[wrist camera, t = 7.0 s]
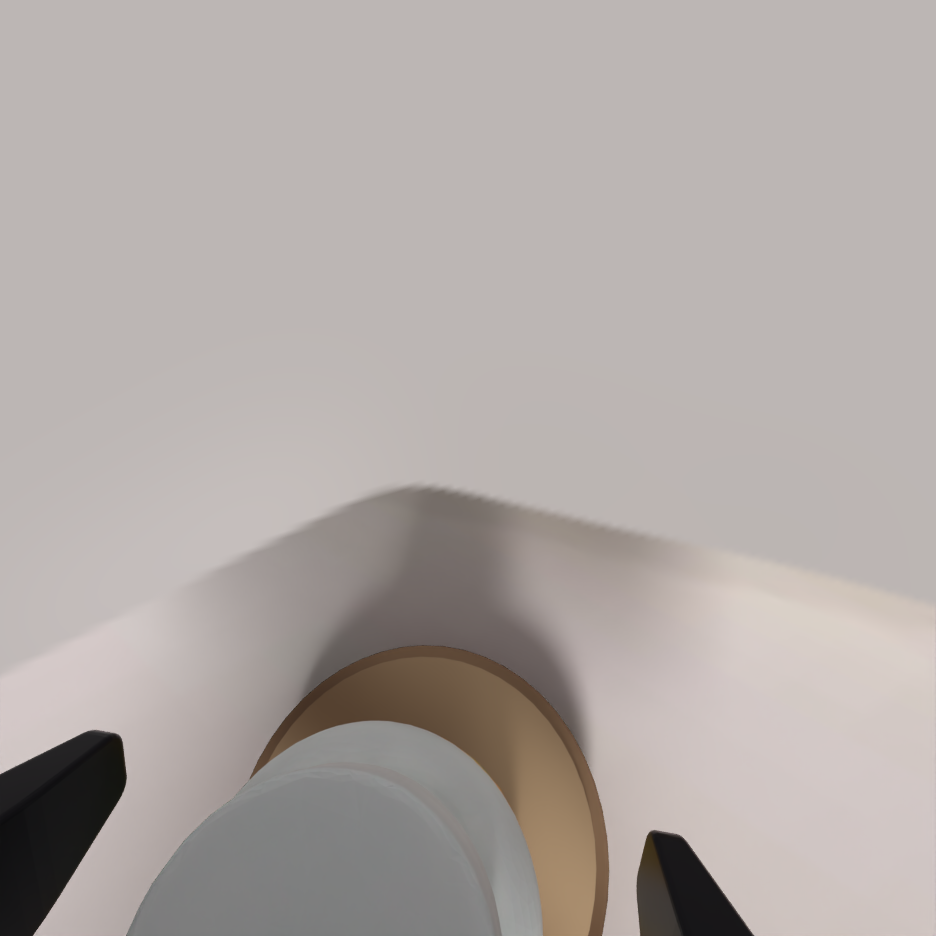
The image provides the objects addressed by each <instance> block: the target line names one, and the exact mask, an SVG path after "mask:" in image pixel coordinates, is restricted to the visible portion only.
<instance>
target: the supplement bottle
mask: <svg viewBox="0 0 936 936" xmlns="http://www.w3.org/2000/svg"><path fill="white" fill-rule="evenodd" d="M126 936H543V924H542V910H541V902H540V895H539V888H538V883H537V878H536V873H535V870H534V866H533V862H532V858H531V855H530V852H529V849H528V846H527V843H526V840H525V837H524V835H523V832H522V830H521V828H520V825H519V823H518V821H517V818H516V816H515V814H514V812H513V811H512V809H511V807H510V805H509V803H508V802H507V800H506V798H505V797H504V795H503V793H502V791H501V789H500V787H499V786H498V785H497V784H496V783H495V782H494V781H493V779H492V778H491V777H490V775H489V774H488V773H487V772H486V770H485V769H484V768H483V767H482V766H481V765H480V764H479V763H478V762H477V761H476V760H474V759H473V758H472V757H471V756H470V755H468V754H467V753H466V752H464V751H463V750H461V749H460V748H458V747H457V746H456V745H454V744H453V743H451V742H450V741H448V740H446V739H444V738H442V737H440V736H438V735H436V734H434V733H432V732H429V731H427V730H424V729H421V728H418V727H415V726H412V725H408V724H403V723H397V722H391V721H361V722H353V723H348V724H343V725H339V726H335V727H332V728H329V729H326V730H323V731H320V732H318V733H316V734H313V735H311V736H309V737H307V738H305V739H303V740H301V741H299V742H297V743H295V744H294V745H292V746H291V747H289V748H288V749H286V750H285V751H283V752H282V753H280V754H279V755H278V756H276V757H275V758H273V759H272V760H271V761H270V762H268V763H267V764H266V765H265V766H264V767H263V768H261V769H260V770H259V771H258V772H257V773H256V774H255V775H254V776H253V777H252V778H251V779H250V780H249V781H248V782H247V783H246V784H245V785H244V787H243V788H242V789H241V790H240V791H239V792H238V793H237V794H236V796H235V797H234V798H233V799H232V800H230V801H229V802H227V803H226V804H225V805H223V806H222V807H221V808H219V809H218V810H217V811H215V812H214V813H213V814H211V815H210V816H209V817H208V818H207V819H206V820H205V821H204V822H203V823H202V824H201V825H200V826H199V827H198V828H197V829H196V830H195V831H194V832H193V833H191V834H190V835H189V836H188V838H187V839H186V840H185V841H184V842H183V843H182V844H181V846H180V847H179V848H178V849H177V851H176V852H175V853H174V855H173V856H172V857H171V859H170V860H169V861H168V863H167V864H166V865H165V867H164V868H163V870H162V871H161V872H160V874H159V875H158V877H157V878H156V879H155V881H154V882H153V883H152V885H151V887H150V889H149V891H148V892H147V894H146V896H145V898H144V900H143V901H142V903H141V905H140V907H139V909H138V911H137V913H136V915H135V918H134V920H133V922H132V924H131V926H130V928H129V931H128V933H127V935H126Z"/></svg>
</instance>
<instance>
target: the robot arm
mask: <svg viewBox="0 0 936 936" xmlns="http://www.w3.org/2000/svg"><path fill="white" fill-rule="evenodd" d="M126 779H127V775H126V766H125V758H124V749H123V742H122V739H121V737H120V736H119V735H118V734H116V733H110V732H105V731H99V730H91V731H87V732H85V733H82V734H80V735H78V736H76V737H74V738H72V739H70V740H68V741H66V742H64V743H62V744H60V745H58V746H56V747H54V748H52V749H50V750H48V751H46V752H44V753H42V754H40V755H38V756H36V757H34V758H32V759H30V760H28V761H26V762H24V763H22V764H20V765H18V766H16V767H14V768H12V769H10V770H8V771H6V772H4V773H2V774H0V936H33V935H34V933H35V932H36V930H37V929H38V928H39V926H40V925H41V923H42V922H43V920H44V919H45V918H46V916H47V914H48V913H49V911H50V910H51V908H52V907H53V905H54V904H55V902H56V901H57V899H58V898H59V896H60V894H61V893H62V891H63V890H64V888H65V886H66V885H67V883H68V882H69V880H70V878H71V877H72V875H73V874H74V872H75V870H76V869H77V867H78V865H79V864H80V862H81V861H82V859H83V857H84V856H85V854H86V853H87V851H88V849H89V848H90V846H91V844H92V843H93V841H94V840H95V838H96V836H97V835H98V833H99V832H100V830H101V828H102V827H103V825H104V824H105V822H106V820H107V819H108V817H109V815H110V814H111V812H112V811H113V809H114V807H115V806H116V804H117V803H118V801H119V799H120V797H121V796H122V793H123V791H124V788H125V785H126ZM637 903H638V914H639V926H640V936H754V935H753V934H752V932H751V931H750V929H749V928H748V927H747V925H746V924H745V922H744V921H743V920H742V918H741V917H740V915H739V914H738V913H737V911H736V910H735V908H734V907H733V906H732V904H731V903H730V901H729V900H728V899H727V897H726V896H725V894H724V893H723V892H722V890H721V889H720V887H719V886H718V885H717V883H716V882H715V880H714V879H713V878H712V876H711V875H710V873H709V872H708V871H707V869H706V868H705V866H704V865H703V864H702V862H701V861H700V859H699V858H698V857H697V855H696V854H695V852H694V851H693V850H692V848H691V847H690V845H689V844H688V843H687V841H686V840H685V839H684V838H683V837H682V836H680V835H678V834H673V833H668V832H662V831H657V830H652V831H650V832H649V834H648V835H647V838H646V842H645V846H644V850H643V854H642V858H641V862H640V867H639V871H638V875H637Z"/></svg>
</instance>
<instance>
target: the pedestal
mask: <svg viewBox="0 0 936 936" xmlns="http://www.w3.org/2000/svg"><path fill="white" fill-rule="evenodd" d="M361 721H391V722H397V723H403V724H408V725H412V726H415V727H418V728H421V729H424V730H427V731H429V732H432V733H434V734H436V735H438V736H440V737H442V738H444V739H446V740H448V741H450V742H451V743H453V744H454V745H456V746H457V747H458V748H460V749H461V750H463V751H464V752H466V753H467V754H468V755H470V756H471V757H472V758H473V759H474V760H476V761H477V762H478V763H479V764H480V765H481V766H482V767H483V768H484V769H485V770H486V772H487V773H488V774H489V775H490V777H491V778H492V779H493V781H494V782H495V783H496V784H497V785H498V786H499V787H500V789H501V791H502V793H503V795H504V797H505V798H506V800H507V802H508V803H509V805H510V807H511V809H512V811H513V812H514V814H515V816H516V818H517V821H518V823H519V825H520V828H521V830H522V832H523V835H524V837H525V840H526V843H527V846H528V849H529V852H530V855H531V858H532V862H533V866H534V870H535V873H536V878H537V883H538V888H539V895H540V902H541V910H542V924H543V936H602V933H603V927H604V920H605V914H606V908H607V901H608V882H609V859H608V843H607V834H606V828H605V822H604V816H603V811H602V806H601V803H600V799H599V796H598V792H597V789H596V785H595V782H594V779H593V777H592V774H591V772H590V769H589V767H588V764H587V762H586V760H585V757H584V755H583V753H582V751H581V749H580V748H579V746H578V744H577V742H576V740H575V738H574V737H573V735H572V733H571V731H570V730H569V729H568V727H567V726H566V724H565V723H564V722H563V720H562V719H561V717H560V716H559V714H558V713H557V712H556V711H555V710H554V708H553V707H552V706H551V705H550V704H549V703H548V702H547V701H546V700H545V698H544V697H543V696H542V695H541V694H540V693H539V692H538V691H536V690H535V689H534V688H533V687H532V686H531V685H529V684H528V683H527V682H526V681H525V680H524V679H522V678H521V677H519V676H518V675H516V674H515V673H513V672H512V671H510V670H509V669H507V668H506V667H504V666H502V665H500V664H498V663H496V662H494V661H492V660H490V659H488V658H486V657H483V656H480V655H477V654H474V653H471V652H468V651H465V650H460V649H455V648H450V647H444V646H424V645H422V646H411V647H401V648H397V649H392V650H388V651H383V652H380V653H377V654H374V655H371V656H369V657H366V658H363V659H361V660H359V661H357V662H355V663H353V664H351V665H349V666H347V667H345V668H343V669H341V670H340V671H338V672H337V673H335V674H334V675H332V676H331V677H329V678H328V679H326V680H325V681H323V682H322V683H321V684H320V685H318V686H317V687H316V688H315V689H314V690H313V691H312V692H310V693H309V694H308V695H307V696H306V697H305V698H304V699H303V700H302V701H301V702H300V703H299V704H298V705H297V706H296V707H295V708H294V709H293V710H292V712H291V713H290V714H289V715H288V716H287V717H286V718H285V720H284V721H283V722H282V724H281V725H280V727H279V728H278V729H277V731H276V732H275V733H274V735H273V736H272V738H271V739H270V741H269V743H268V744H267V746H266V748H265V749H264V751H263V753H262V755H261V756H260V758H259V760H258V762H257V764H256V766H255V768H254V771H253V773H252V775H251V777H250V779H251V778H252V777H253V776H254V775H255V774H256V773H257V772H258V771H259V770H260V769H261V768H263V767H264V766H265V765H266V764H267V763H268V762H270V761H271V760H272V759H273V758H275V757H276V756H278V755H279V754H280V753H282V752H283V751H285V750H286V749H288V748H289V747H291V746H292V745H294V744H295V743H297V742H299V741H301V740H303V739H305V738H307V737H309V736H311V735H313V734H316V733H318V732H320V731H323V730H326V729H329V728H332V727H335V726H339V725H343V724H348V723H353V722H361ZM250 779H249V780H250Z"/></svg>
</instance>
